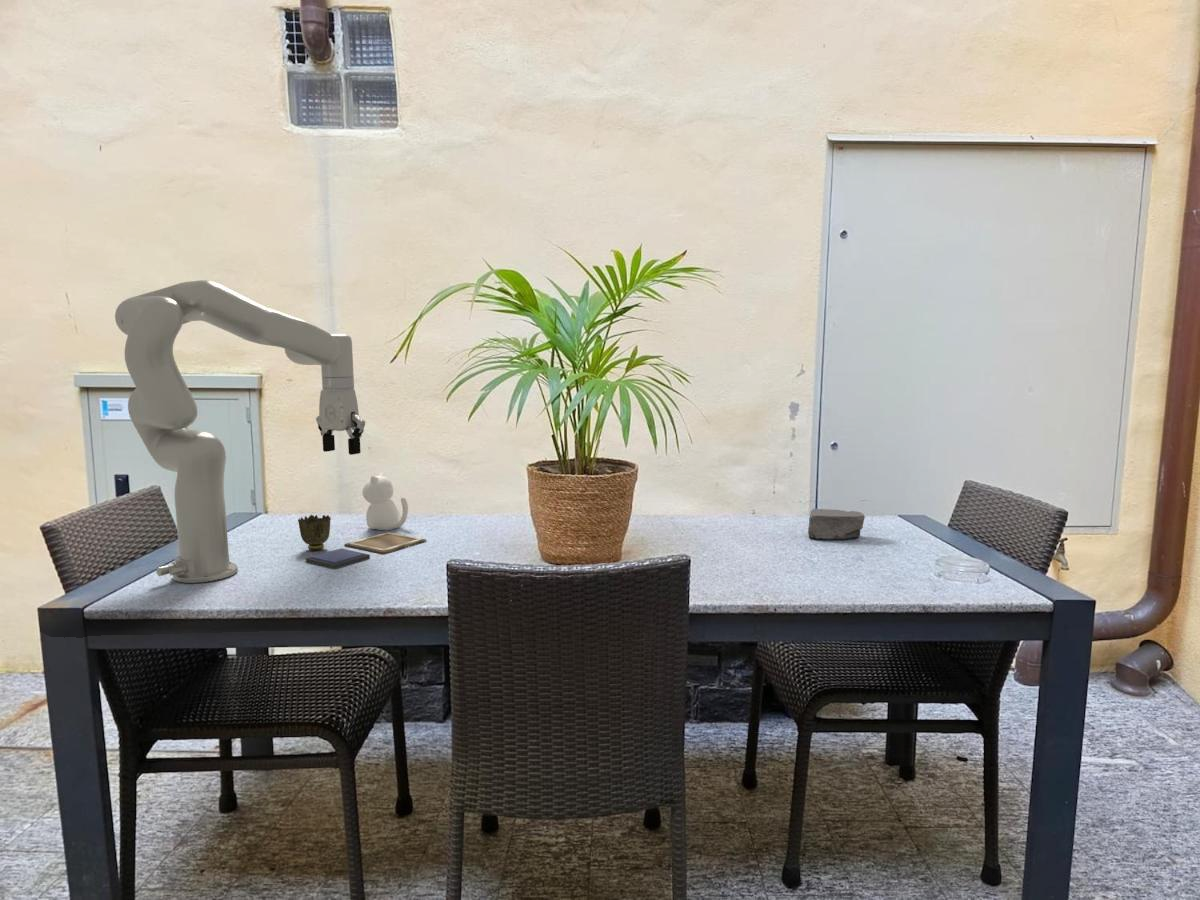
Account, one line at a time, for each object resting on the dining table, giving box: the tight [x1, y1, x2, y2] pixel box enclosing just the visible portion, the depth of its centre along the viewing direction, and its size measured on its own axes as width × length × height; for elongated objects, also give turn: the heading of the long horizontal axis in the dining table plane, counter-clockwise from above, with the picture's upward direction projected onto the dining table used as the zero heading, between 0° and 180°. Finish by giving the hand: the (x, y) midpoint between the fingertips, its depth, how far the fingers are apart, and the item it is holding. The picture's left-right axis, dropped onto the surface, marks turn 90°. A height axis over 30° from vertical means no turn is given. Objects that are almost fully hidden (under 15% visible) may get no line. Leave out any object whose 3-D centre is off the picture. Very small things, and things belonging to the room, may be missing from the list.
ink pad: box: [305, 548, 371, 570], centre depth 180 cm, size 10×10×1 cm
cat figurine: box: [362, 471, 409, 531], centre depth 209 cm, size 9×12×15 cm
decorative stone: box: [807, 508, 866, 542], centre depth 199 cm, size 15×7×10 cm
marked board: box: [344, 531, 427, 555], centre depth 194 cm, size 14×14×1 cm
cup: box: [297, 514, 332, 552], centre depth 188 cm, size 8×7×8 cm
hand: (341, 452), depth 195 cm, fingers open, 9 cm apart
